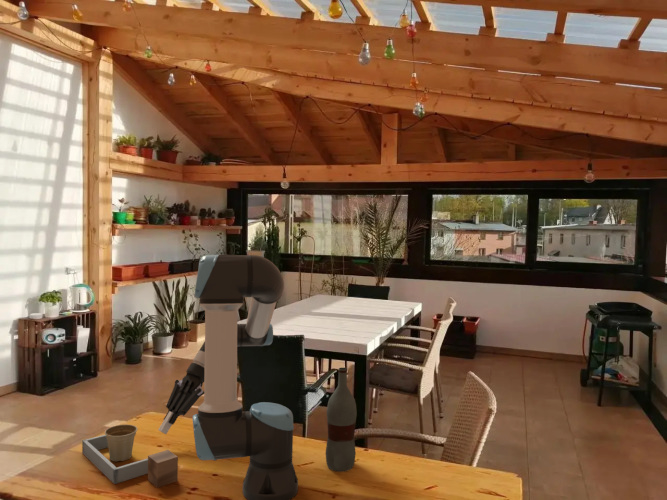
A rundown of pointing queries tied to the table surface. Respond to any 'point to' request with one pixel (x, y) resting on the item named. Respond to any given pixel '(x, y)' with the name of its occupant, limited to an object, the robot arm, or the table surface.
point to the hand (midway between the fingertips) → (162, 432)
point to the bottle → (341, 426)
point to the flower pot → (120, 441)
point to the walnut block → (162, 468)
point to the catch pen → (105, 466)
